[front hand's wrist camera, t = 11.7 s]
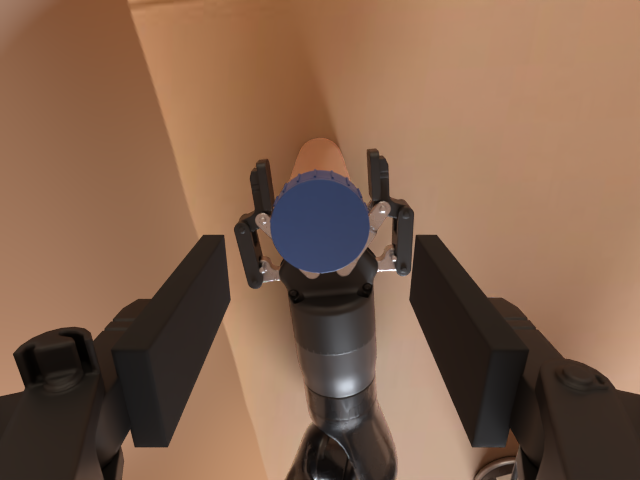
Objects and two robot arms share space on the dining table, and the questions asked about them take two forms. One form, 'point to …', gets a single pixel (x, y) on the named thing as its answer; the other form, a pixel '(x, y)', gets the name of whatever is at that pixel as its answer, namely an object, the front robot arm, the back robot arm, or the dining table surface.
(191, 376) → the front robot arm
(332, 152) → the tall tan cylinder
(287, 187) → the lid
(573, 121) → the dining table surface
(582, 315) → the dining table surface
